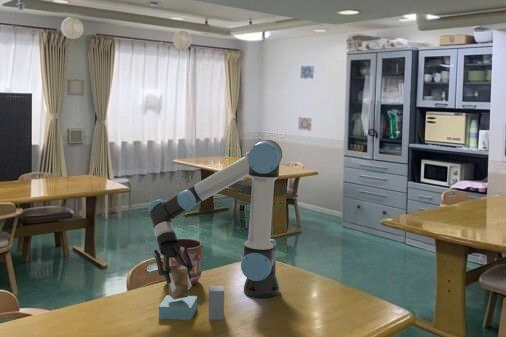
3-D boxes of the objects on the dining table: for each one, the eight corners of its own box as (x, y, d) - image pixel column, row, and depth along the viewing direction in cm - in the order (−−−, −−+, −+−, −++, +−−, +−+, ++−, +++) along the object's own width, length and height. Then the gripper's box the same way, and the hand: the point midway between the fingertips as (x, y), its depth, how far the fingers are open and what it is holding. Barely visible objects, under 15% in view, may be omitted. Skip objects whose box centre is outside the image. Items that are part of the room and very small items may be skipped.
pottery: (153, 284, 233) (153, 244, 231) (180, 274, 247) (181, 236, 245) (183, 293, 223) (183, 251, 221) (210, 282, 237) (210, 242, 235)
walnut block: (182, 292, 204) (182, 264, 203) (187, 296, 199) (187, 268, 198) (168, 294, 201) (168, 266, 200) (173, 299, 197) (173, 270, 195)
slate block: (223, 314, 201) (223, 285, 199) (223, 320, 195) (224, 290, 194) (208, 314, 200) (208, 286, 199) (208, 320, 195) (209, 291, 193)
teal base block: (197, 308, 207) (197, 296, 206) (191, 321, 195) (191, 307, 194) (166, 307, 207) (166, 295, 207) (158, 319, 196) (158, 306, 195)
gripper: (185, 238, 216) (201, 289, 204) (140, 243, 207) (155, 297, 195) (190, 228, 211) (207, 280, 199) (145, 233, 202) (160, 288, 190)
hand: (181, 288), depth 197 cm, fingers closed on walnut block, 5 cm apart
